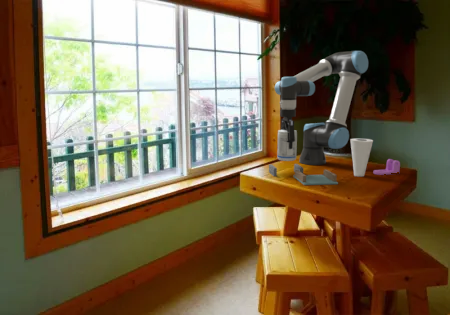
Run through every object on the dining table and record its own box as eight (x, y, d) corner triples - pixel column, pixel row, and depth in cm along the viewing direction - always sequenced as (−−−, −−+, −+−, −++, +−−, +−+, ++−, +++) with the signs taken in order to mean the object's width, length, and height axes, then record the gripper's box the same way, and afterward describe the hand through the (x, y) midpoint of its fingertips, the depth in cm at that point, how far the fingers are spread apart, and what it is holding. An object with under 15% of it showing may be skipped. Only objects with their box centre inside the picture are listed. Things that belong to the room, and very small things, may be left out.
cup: (359, 178, 190) (362, 141, 186) (343, 174, 199) (345, 139, 196) (375, 176, 194) (377, 140, 191) (358, 172, 204) (361, 138, 200)
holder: (296, 171, 205) (297, 163, 204) (303, 175, 195) (303, 167, 194) (268, 171, 203) (269, 164, 202) (273, 176, 193) (273, 168, 192)
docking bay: (324, 176, 194) (325, 168, 194) (337, 184, 179) (338, 176, 178) (293, 176, 192) (293, 169, 191) (304, 185, 177) (304, 176, 176)
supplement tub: (278, 157, 204) (279, 129, 201) (297, 158, 201) (298, 129, 198) (275, 160, 194) (276, 131, 192) (295, 161, 192) (295, 132, 189)
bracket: (391, 171, 207) (392, 158, 206) (399, 173, 202) (400, 160, 201) (371, 173, 203) (372, 159, 202) (378, 175, 198) (379, 161, 197)
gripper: (274, 107, 203) (274, 149, 207) (287, 110, 181) (285, 157, 186) (288, 107, 204) (287, 149, 208) (302, 110, 182) (301, 157, 187)
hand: (286, 153), depth 197 cm, fingers closed on supplement tub, 10 cm apart
